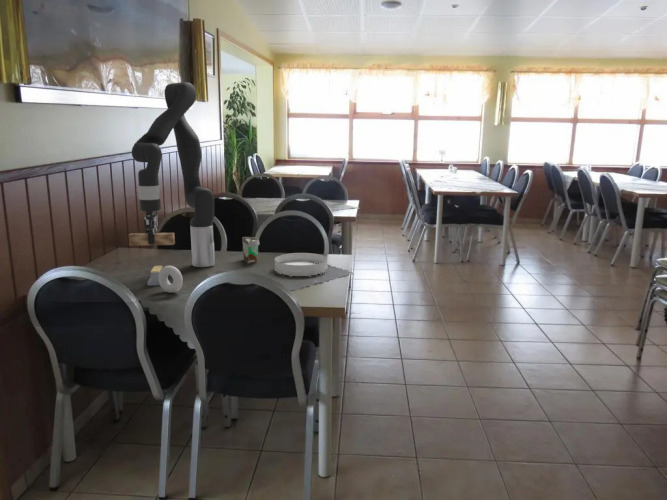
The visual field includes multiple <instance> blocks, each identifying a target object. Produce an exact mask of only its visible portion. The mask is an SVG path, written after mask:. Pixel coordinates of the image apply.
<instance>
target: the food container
mask: <svg viewBox="0 0 667 500" xmlns="http://www.w3.org/2000/svg"><path fill="white" fill-rule="evenodd" d="M241 243H242V254H243V260H244V262H246V263H247V265H252V263H254V264H256V263H258V255H259V253H258V252H259V251H258V250H259V246H260V240H259V238H257V237H254V236H253V237H251V236H242V241H241ZM255 262H256V263H255Z"/></svg>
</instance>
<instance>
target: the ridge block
mask: <svg viewBox="0 0 667 500" xmlns="http://www.w3.org/2000/svg"><path fill="white" fill-rule="evenodd" d="M162 268H163V265H154V266H153V267H152V269H151V270H150V277H149V279H148V280H147V283H146V284H147V286H160V284H159V280H158V275H159V272H160V270H161V269H162Z"/></svg>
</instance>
